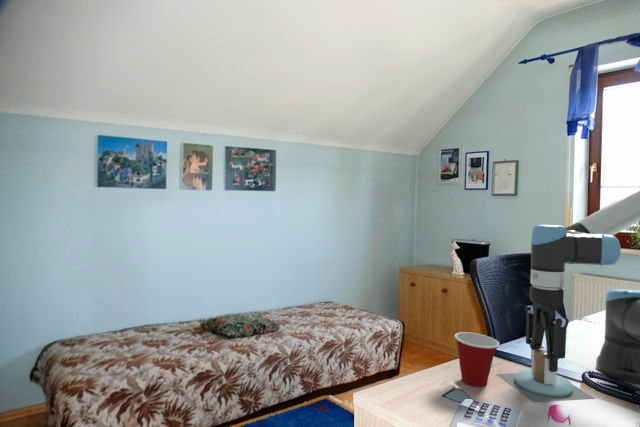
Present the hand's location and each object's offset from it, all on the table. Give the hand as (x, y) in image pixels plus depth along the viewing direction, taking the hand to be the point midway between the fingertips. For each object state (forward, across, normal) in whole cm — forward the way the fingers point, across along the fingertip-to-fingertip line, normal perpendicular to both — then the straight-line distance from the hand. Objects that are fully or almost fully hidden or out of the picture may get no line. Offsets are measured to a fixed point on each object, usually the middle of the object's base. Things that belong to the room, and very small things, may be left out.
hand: (543, 378), depth 111 cm
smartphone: (+3, +6, -21) cm, 22 cm away
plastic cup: (+2, -4, -16) cm, 17 cm away
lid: (+2, 0, 0) cm, 2 cm away
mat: (+2, 0, 0) cm, 2 cm away
